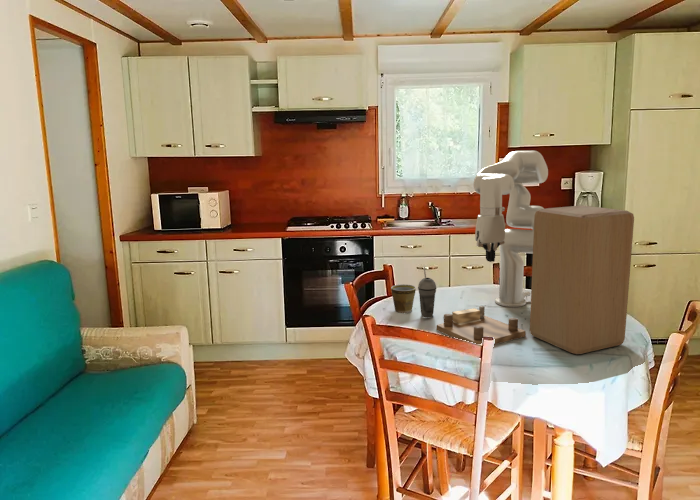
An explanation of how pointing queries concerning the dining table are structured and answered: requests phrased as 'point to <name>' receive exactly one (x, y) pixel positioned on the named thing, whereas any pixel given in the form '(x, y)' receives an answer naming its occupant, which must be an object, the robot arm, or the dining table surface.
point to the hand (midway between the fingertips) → (490, 260)
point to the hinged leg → (466, 315)
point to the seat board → (488, 328)
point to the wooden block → (581, 277)
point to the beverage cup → (427, 296)
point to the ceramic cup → (403, 297)
